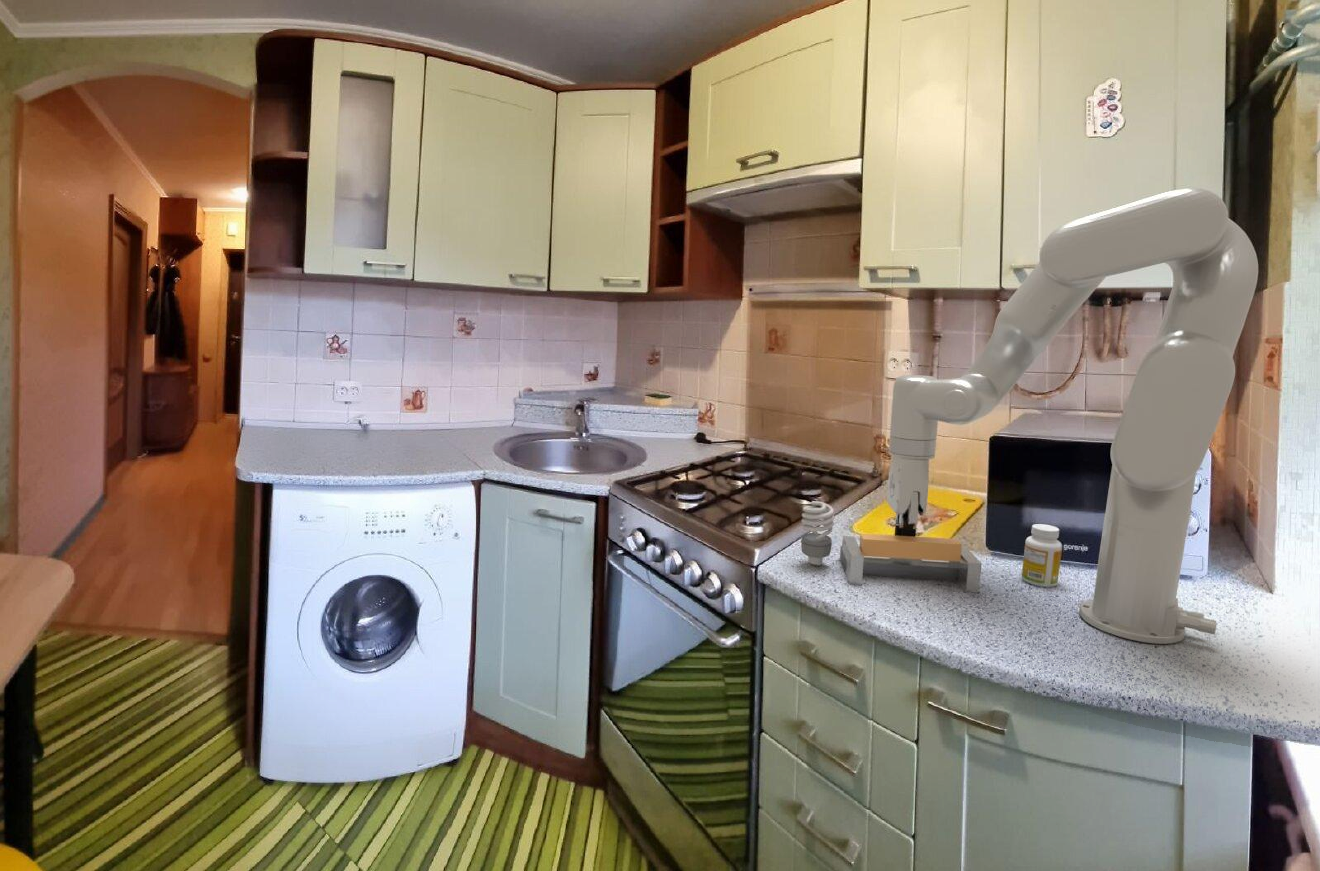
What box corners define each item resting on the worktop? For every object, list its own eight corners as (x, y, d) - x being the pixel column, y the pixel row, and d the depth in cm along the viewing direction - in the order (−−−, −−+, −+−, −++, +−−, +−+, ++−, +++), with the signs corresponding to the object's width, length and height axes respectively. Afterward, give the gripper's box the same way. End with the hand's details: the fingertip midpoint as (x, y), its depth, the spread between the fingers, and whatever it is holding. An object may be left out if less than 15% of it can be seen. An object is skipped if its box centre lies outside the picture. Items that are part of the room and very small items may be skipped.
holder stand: (955, 565, 117) (958, 539, 116) (978, 592, 105) (981, 563, 105) (839, 558, 120) (841, 532, 119) (849, 583, 108) (851, 555, 107)
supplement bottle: (1047, 576, 113) (1054, 523, 111) (1063, 588, 107) (1070, 533, 106) (1015, 574, 113) (1021, 521, 112) (1029, 587, 108) (1036, 531, 106)
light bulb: (795, 560, 119) (798, 497, 117) (824, 559, 119) (828, 497, 117) (805, 572, 113) (808, 506, 111) (835, 571, 114) (839, 505, 112)
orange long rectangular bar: (954, 555, 111) (956, 538, 110) (960, 561, 108) (961, 544, 108) (859, 549, 113) (860, 533, 113) (862, 555, 110) (863, 539, 110)
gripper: (881, 438, 119) (874, 533, 122) (898, 454, 104) (890, 562, 108) (923, 440, 118) (915, 536, 121) (947, 456, 103) (937, 565, 106)
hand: (903, 548), depth 114 cm, fingers closed
